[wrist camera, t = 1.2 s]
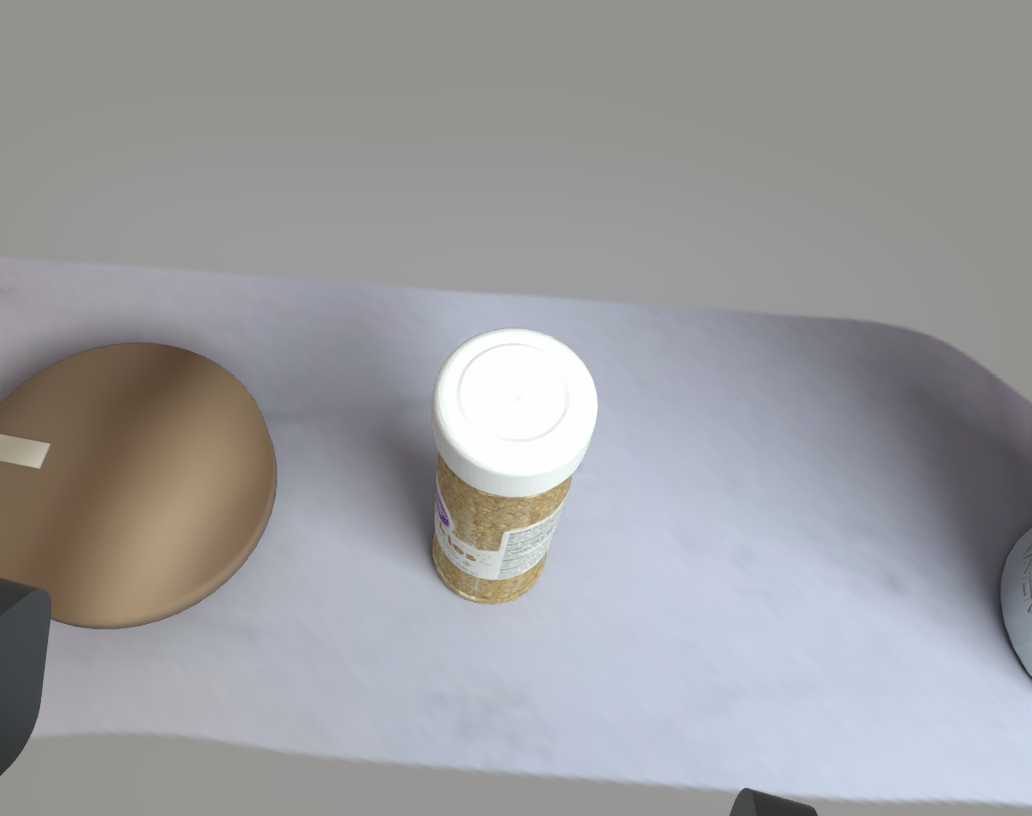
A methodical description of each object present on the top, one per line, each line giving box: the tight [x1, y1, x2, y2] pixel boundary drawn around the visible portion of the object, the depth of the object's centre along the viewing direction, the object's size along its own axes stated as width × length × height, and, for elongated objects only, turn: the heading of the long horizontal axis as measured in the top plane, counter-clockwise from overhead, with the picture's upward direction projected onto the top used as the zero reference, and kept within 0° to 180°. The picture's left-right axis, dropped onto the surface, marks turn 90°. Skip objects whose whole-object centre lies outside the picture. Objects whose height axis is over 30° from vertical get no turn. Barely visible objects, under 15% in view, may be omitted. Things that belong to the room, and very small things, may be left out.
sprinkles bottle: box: [432, 328, 598, 604], centre depth 32 cm, size 5×5×14 cm
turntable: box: [0, 343, 277, 629], centre depth 36 cm, size 11×11×2 cm
